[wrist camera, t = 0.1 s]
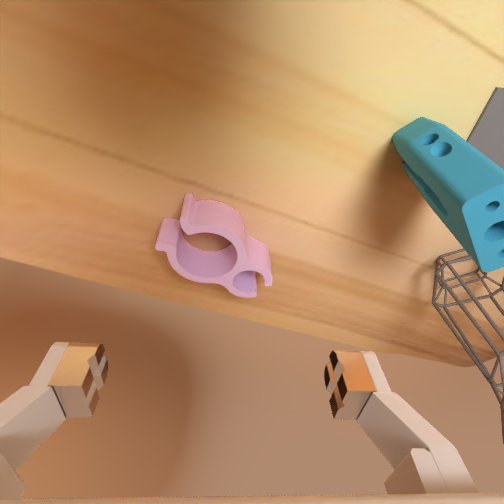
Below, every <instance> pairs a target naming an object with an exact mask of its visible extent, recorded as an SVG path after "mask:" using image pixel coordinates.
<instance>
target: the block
mask: <svg viewBox="0 0 504 504" xmlns="http://www.w3.org/2000/svg"><path fill="white" fill-rule="evenodd" d="M392 141H393V144H394V146H395V148H396V150H397V153H398V154H399V155H400V156H401V157H402V159H403V160H404V161H405V162H404V163H402V164H403V166H404V169H405V171H406V173H407V175H408V176H409V178H410V179H411V180H412V182H413V183H414V185H415V186H416V187H417V189H418V190H419V192H420V193H421V194H422V196H423V197H424V199H425V200H426V201H427V203H428V204H429V206H430V207H431V208H432V209H433V211H434V212H435V213H436V214H437V216H438V217H439V218H440V219H441V220H442V222H443V223H444V224H445V225H446V227H447V228H448V229H449V230H450V232H451V233H452V234H453V235H454V236H455V238H456V239H457V240H458V241H459V243H460V244H461V245H462V246H463V248H464V249H465V250H466V251H467V252H468V254H469V255H470V256H471V257H472V259H473V260H474V261H475V262H476V264H477V265H478V266H479V267H480V269H481V270H482V271H483V272H491V271H494V270H496V269H499V268H501V267H504V170H503V169H502V168H501V167H499V166H498V165H497V164H496V163H494V162H493V161H492V160H490V159H489V158H488V157H486V156H485V155H484V154H482V153H481V152H480V151H478V150H477V149H476V148H474V147H473V146H472V145H471V144H469V143H468V142H467V141H465V140H464V139H463V138H461V137H460V136H459V135H457V134H456V133H455V132H453V131H452V130H451V129H449V128H448V127H447V126H446V125H443V124H441V123H438V122H435V121H432V120H430V119H427V118H424V117H420V118H418V119H416V120H415V121H413V122H411V123H410V124H408V125H406V126H405V127H403V128H402V129H400V130H398V131H397V132H395V133H394V135H393V137H392Z"/></svg>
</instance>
